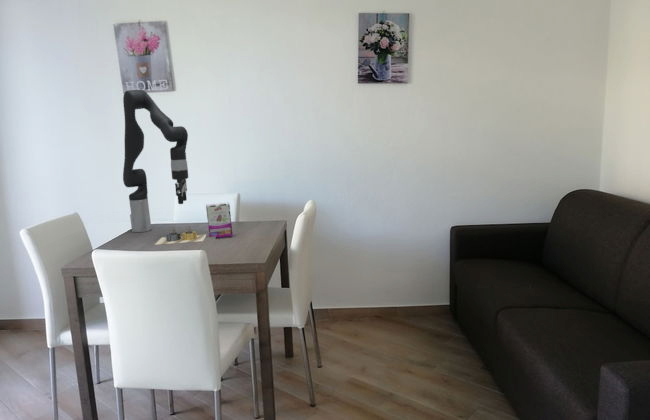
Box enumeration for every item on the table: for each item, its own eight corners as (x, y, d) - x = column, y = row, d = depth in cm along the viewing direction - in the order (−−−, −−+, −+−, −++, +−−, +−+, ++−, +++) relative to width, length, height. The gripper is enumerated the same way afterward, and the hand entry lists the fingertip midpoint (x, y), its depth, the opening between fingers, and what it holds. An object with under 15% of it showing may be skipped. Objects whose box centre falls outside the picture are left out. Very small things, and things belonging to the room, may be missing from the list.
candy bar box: (232, 234, 233) (229, 202, 229) (232, 236, 228) (229, 203, 225) (209, 237, 230) (205, 204, 227) (209, 239, 225) (206, 205, 222)
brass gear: (181, 240, 220) (180, 234, 219) (183, 237, 226) (183, 231, 225) (195, 239, 220) (194, 233, 220) (197, 236, 227) (196, 230, 226)
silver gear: (165, 241, 219) (164, 235, 218) (168, 238, 225) (167, 232, 225) (179, 240, 220) (178, 234, 219) (181, 237, 226) (181, 231, 225)
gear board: (154, 247, 215) (152, 232, 214) (161, 239, 229) (160, 225, 227) (203, 243, 217) (201, 228, 216) (207, 236, 231) (205, 222, 230)
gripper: (174, 167, 229) (177, 200, 232) (168, 171, 215) (171, 205, 218) (190, 166, 230) (193, 199, 233) (184, 170, 216) (187, 204, 219)
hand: (182, 202), depth 226 cm, fingers open, 8 cm apart
